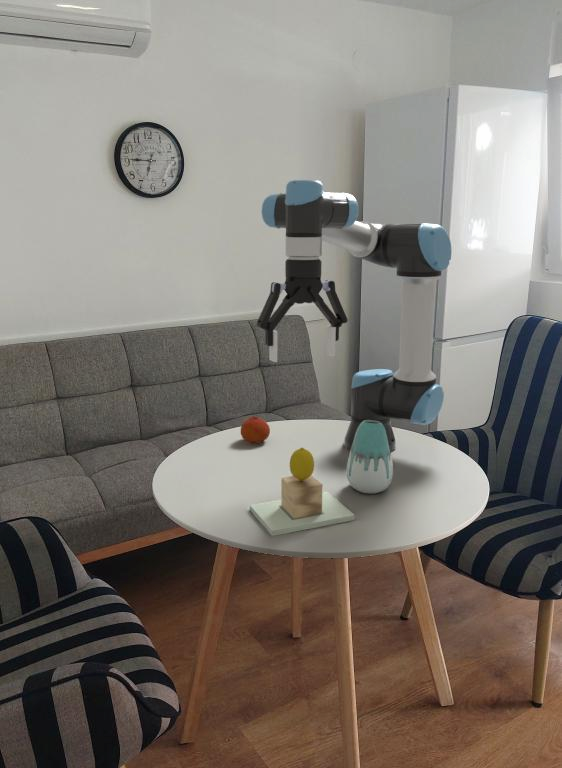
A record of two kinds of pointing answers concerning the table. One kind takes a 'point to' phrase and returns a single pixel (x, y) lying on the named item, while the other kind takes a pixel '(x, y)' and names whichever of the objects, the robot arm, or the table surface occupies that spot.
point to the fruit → (255, 430)
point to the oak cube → (301, 496)
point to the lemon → (301, 464)
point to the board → (283, 522)
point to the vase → (370, 459)
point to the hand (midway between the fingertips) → (302, 358)
